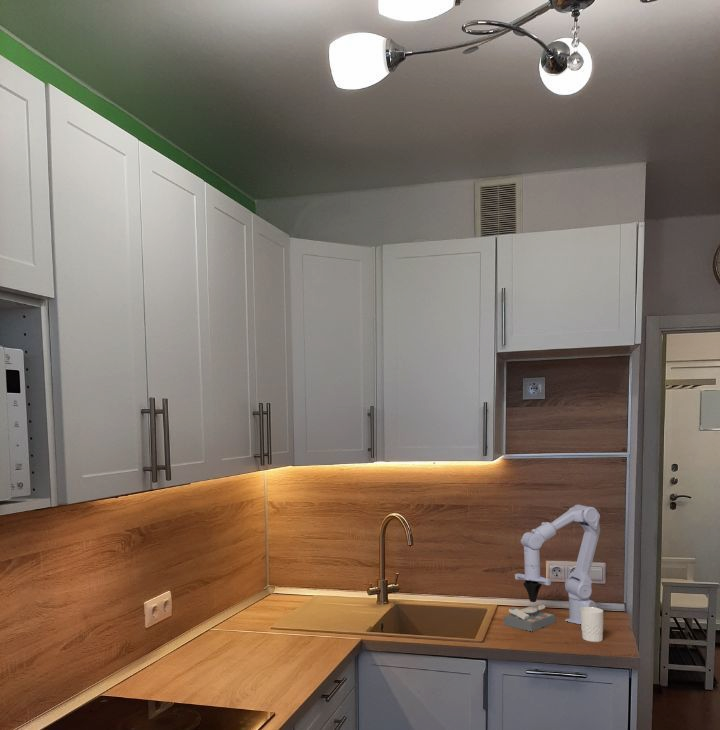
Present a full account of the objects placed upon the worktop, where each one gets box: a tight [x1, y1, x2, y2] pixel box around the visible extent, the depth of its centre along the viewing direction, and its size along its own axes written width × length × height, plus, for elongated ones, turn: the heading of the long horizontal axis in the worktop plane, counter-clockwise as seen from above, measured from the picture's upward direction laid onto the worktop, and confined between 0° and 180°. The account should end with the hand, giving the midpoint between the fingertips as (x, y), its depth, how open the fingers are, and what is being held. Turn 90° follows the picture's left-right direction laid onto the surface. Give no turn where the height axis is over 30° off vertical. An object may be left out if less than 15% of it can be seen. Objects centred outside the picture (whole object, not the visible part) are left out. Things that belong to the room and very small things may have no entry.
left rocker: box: [508, 606, 529, 620], centre depth 245 cm, size 7×4×1 cm, turn 41°
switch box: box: [503, 610, 556, 633], centre depth 247 cm, size 12×16×4 cm
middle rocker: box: [518, 607, 537, 613], centre depth 249 cm, size 7×4×1 cm, turn 44°
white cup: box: [580, 607, 604, 643], centre depth 230 cm, size 8×8×10 cm
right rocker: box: [524, 604, 546, 611], centre depth 252 cm, size 7×4×1 cm, turn 44°
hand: (533, 601), depth 247 cm, fingers closed
